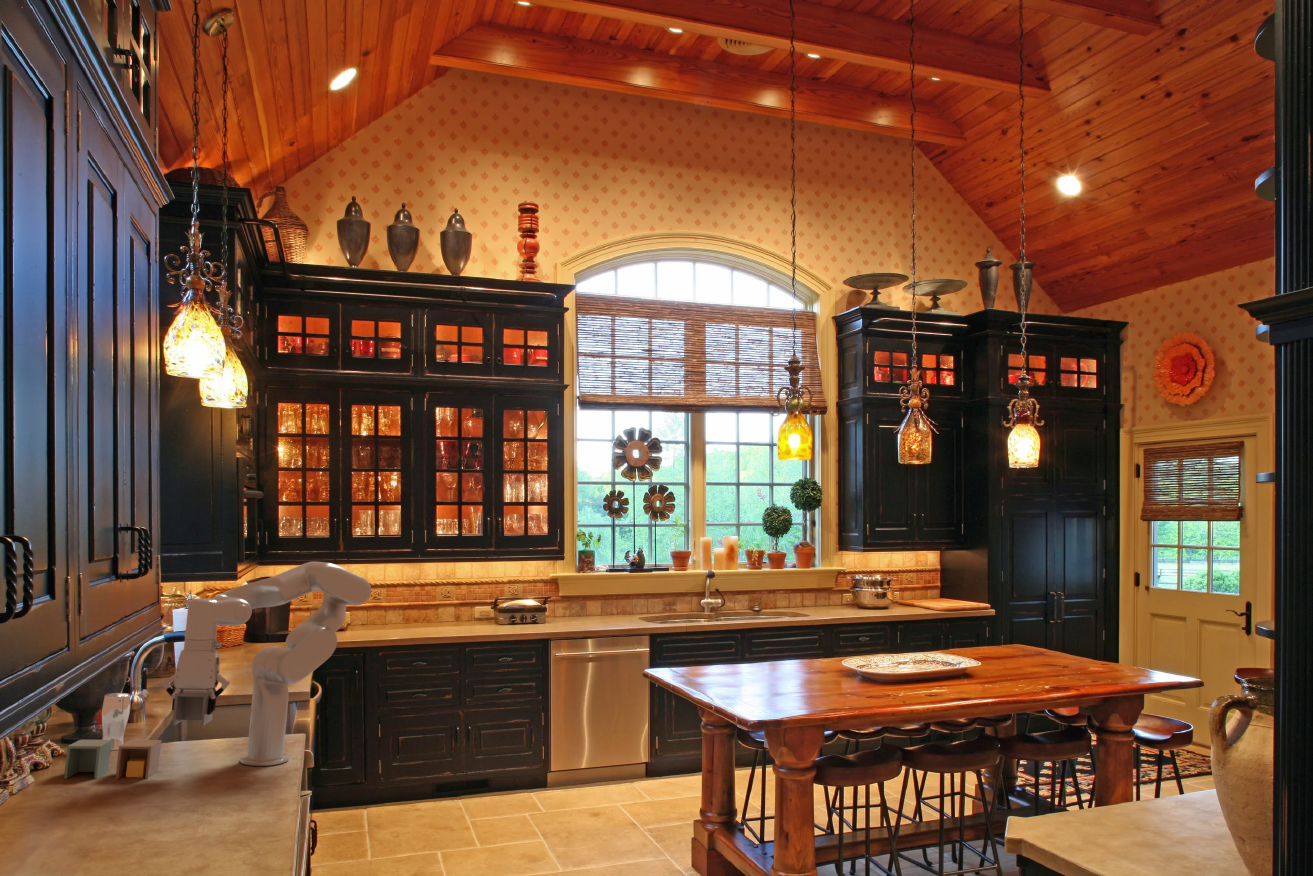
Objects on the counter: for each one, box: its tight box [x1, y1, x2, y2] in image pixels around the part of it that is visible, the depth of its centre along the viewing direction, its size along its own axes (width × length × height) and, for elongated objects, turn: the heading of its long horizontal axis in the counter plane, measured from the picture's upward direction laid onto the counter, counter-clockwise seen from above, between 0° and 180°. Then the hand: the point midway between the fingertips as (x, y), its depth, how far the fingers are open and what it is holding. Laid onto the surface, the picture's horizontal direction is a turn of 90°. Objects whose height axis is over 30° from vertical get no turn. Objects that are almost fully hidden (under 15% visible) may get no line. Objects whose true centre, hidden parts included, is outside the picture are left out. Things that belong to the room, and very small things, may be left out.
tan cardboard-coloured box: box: [115, 739, 162, 780], centre depth 237 cm, size 8×8×8 cm
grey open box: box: [171, 690, 214, 727], centre depth 241 cm, size 8×8×8 cm
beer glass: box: [101, 692, 131, 751], centre depth 264 cm, size 7×7×15 cm
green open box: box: [63, 739, 112, 780], centre depth 235 cm, size 8×8×8 cm
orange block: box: [125, 758, 147, 778], centre depth 237 cm, size 4×4×4 cm
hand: (193, 713), depth 241 cm, fingers closed on grey open box, 7 cm apart
